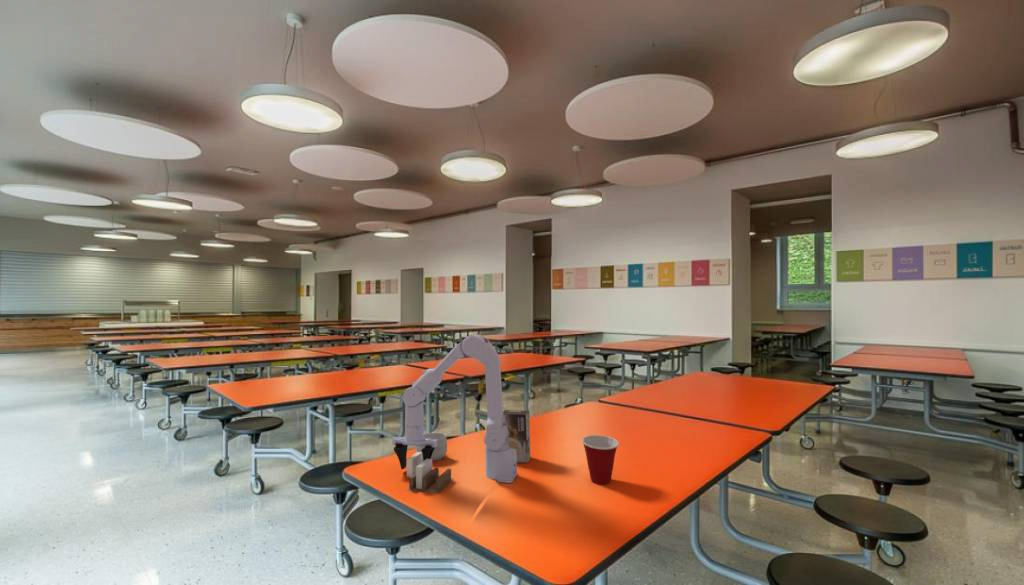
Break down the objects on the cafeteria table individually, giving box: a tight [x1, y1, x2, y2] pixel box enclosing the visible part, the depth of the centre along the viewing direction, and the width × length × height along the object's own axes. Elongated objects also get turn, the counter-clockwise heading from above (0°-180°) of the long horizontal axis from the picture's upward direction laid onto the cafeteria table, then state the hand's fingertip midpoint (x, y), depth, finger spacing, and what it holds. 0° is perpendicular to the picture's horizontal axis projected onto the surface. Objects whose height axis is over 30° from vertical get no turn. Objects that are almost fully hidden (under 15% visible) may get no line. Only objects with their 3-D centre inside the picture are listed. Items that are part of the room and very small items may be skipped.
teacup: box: [415, 431, 448, 462], centre depth 150 cm, size 14×11×8 cm
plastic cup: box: [581, 434, 620, 485], centre depth 127 cm, size 11×11×12 cm
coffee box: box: [503, 409, 532, 464], centre depth 148 cm, size 9×6×16 cm
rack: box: [405, 467, 454, 494], centre depth 125 cm, size 10×11×4 cm
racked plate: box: [416, 459, 433, 489], centre depth 125 cm, size 2×7×6 cm, turn 166°
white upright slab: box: [406, 451, 423, 478], centre depth 134 cm, size 2×7×6 cm, turn 166°
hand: (414, 468), depth 134 cm, fingers open, 7 cm apart
